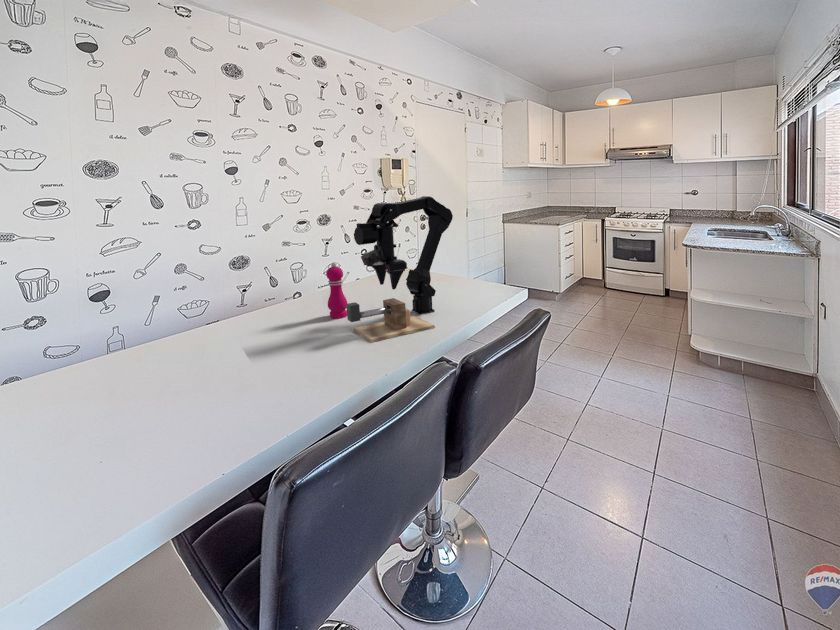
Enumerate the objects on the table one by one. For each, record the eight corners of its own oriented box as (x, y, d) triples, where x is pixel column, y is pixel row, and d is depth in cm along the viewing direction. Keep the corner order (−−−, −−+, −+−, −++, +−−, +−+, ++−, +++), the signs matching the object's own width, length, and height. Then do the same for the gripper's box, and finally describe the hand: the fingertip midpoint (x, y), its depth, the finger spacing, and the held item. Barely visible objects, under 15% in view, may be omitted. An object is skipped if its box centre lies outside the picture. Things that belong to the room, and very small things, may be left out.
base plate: (413, 317, 160) (413, 315, 159) (434, 327, 148) (434, 324, 148) (353, 330, 149) (353, 327, 148) (371, 342, 137) (371, 339, 137)
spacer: (402, 321, 152) (401, 306, 151) (410, 325, 148) (409, 309, 146) (397, 322, 152) (396, 307, 150) (405, 326, 147) (404, 311, 145)
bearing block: (395, 321, 153) (393, 298, 150) (406, 327, 146) (405, 303, 143) (384, 324, 151) (383, 300, 148) (395, 330, 144) (394, 305, 142)
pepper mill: (344, 319, 161) (339, 264, 155) (325, 318, 163) (320, 264, 157) (351, 313, 168) (346, 260, 162) (333, 313, 169) (328, 260, 164)
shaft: (394, 310, 148) (393, 295, 147) (398, 312, 146) (397, 297, 144) (347, 319, 141) (346, 303, 139) (351, 322, 138) (350, 306, 136)
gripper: (352, 241, 154) (355, 285, 159) (375, 247, 139) (378, 295, 143) (381, 238, 159) (383, 281, 164) (406, 243, 144) (408, 290, 149)
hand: (387, 286), depth 155 cm, fingers open, 9 cm apart
